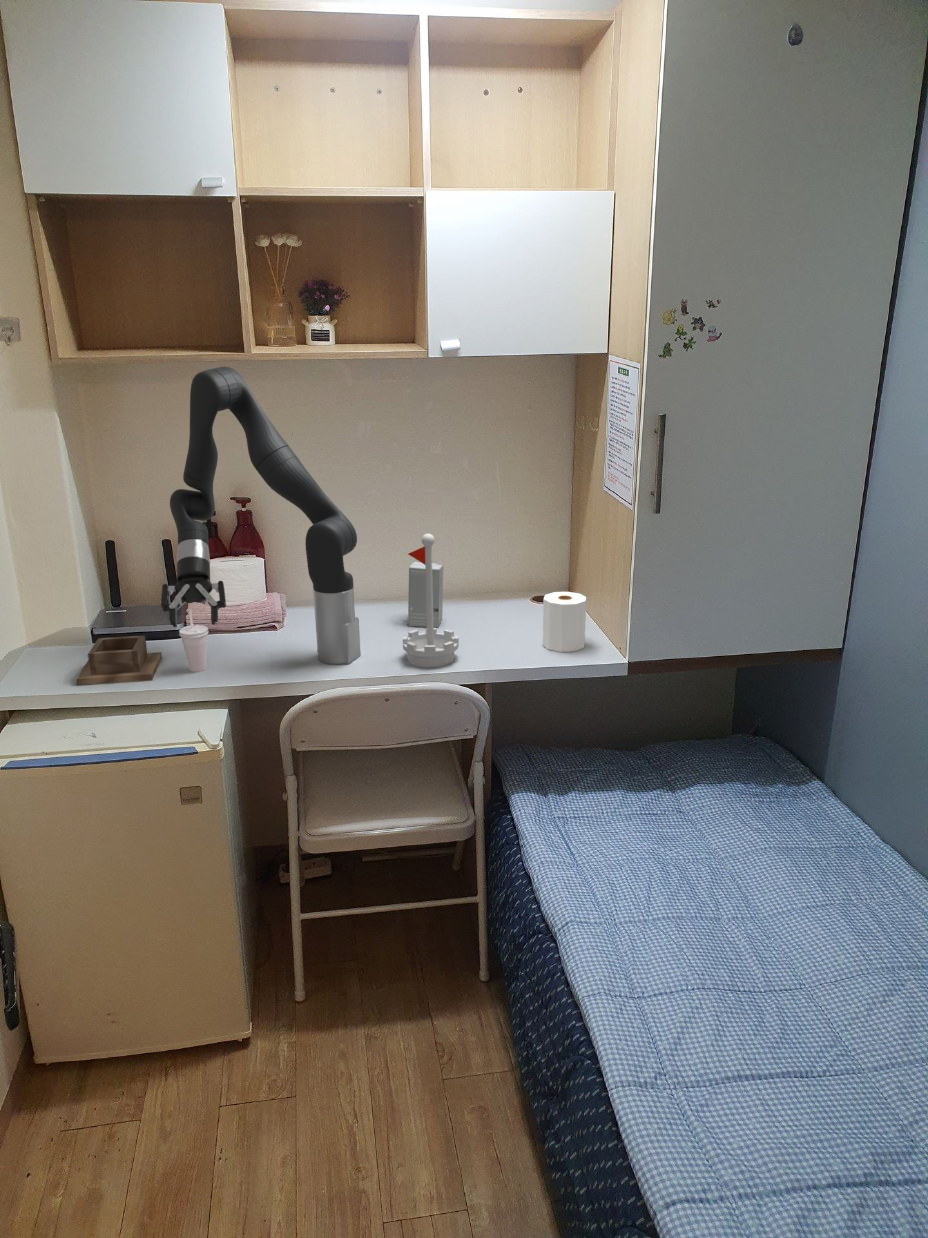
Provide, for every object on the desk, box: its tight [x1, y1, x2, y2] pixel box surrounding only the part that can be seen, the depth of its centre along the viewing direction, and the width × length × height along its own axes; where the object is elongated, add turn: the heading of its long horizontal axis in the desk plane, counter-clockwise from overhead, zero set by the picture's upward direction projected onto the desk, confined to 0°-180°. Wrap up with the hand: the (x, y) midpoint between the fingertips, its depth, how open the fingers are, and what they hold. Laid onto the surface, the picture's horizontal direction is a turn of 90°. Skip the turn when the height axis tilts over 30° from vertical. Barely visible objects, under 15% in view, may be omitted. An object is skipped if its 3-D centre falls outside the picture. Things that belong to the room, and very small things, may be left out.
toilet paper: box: [542, 591, 587, 653], centre depth 218 cm, size 10×10×12 cm
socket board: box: [75, 635, 163, 686], centre depth 206 cm, size 16×14×6 cm
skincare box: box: [407, 561, 444, 628], centre depth 234 cm, size 8×7×16 cm
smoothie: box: [178, 610, 209, 673], centre depth 206 cm, size 6×6×14 cm
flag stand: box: [402, 533, 460, 668], centre depth 208 cm, size 13×13×30 cm
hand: (194, 624), depth 207 cm, fingers open, 8 cm apart
